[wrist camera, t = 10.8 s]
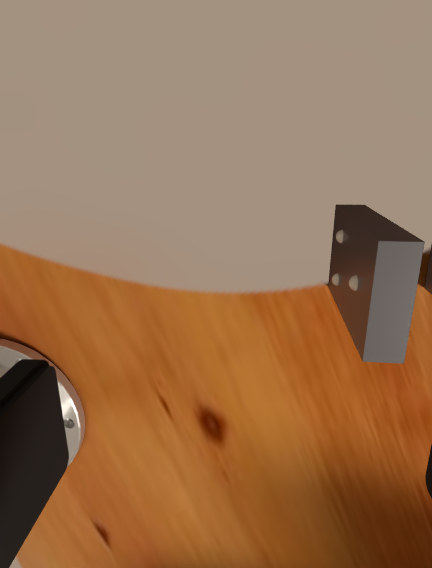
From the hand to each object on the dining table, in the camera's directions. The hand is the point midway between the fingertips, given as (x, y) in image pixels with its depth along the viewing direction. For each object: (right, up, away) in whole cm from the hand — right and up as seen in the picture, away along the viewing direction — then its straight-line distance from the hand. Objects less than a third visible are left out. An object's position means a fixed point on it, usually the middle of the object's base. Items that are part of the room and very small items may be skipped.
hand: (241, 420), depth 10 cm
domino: (+7, +5, +14) cm, 17 cm away
